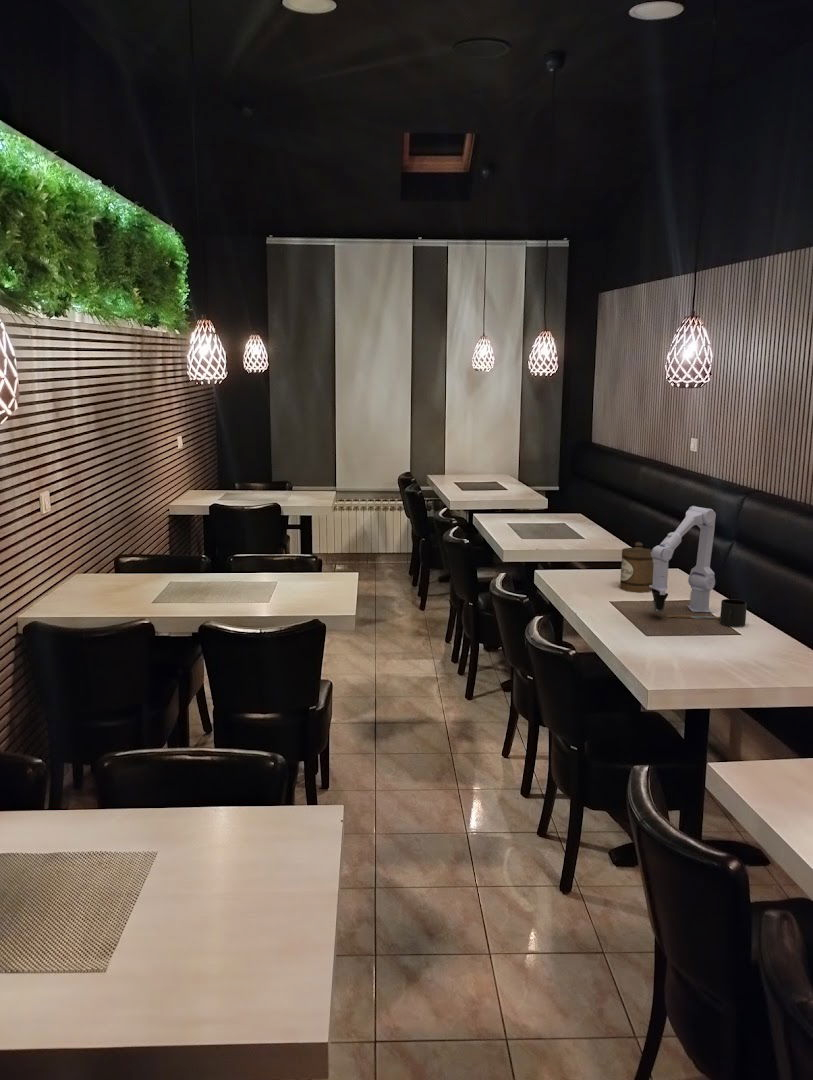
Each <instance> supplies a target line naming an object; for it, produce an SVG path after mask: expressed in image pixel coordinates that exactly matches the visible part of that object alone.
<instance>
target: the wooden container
mask: <svg viewBox="0 0 813 1080" xmlns="http://www.w3.org/2000/svg"><path fill="white" fill-rule="evenodd" d="M643 544H644V543H642V542H640V541H637V542H635V543H634V547H624V548H622V549H621V562H620V563H621V566H620V584H619V587H620V589H621V590H623V591H625V590H626V591H625V592H630V593H648V592H652V591H651V589H654V588H650V587H649V585H653V567H654V563H653V558H652V557H651V552H652V549H651V548H644V547H643Z"/></svg>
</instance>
